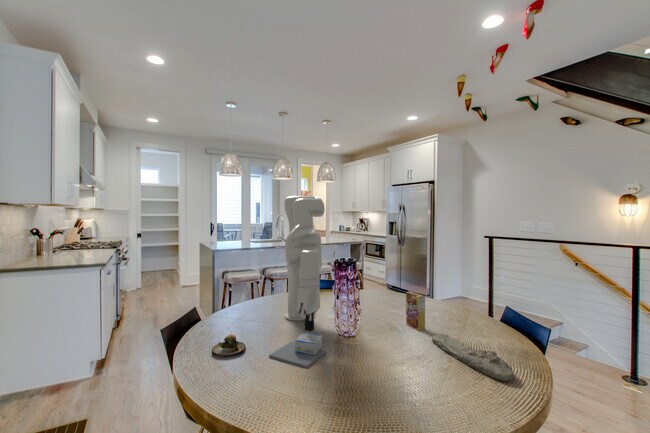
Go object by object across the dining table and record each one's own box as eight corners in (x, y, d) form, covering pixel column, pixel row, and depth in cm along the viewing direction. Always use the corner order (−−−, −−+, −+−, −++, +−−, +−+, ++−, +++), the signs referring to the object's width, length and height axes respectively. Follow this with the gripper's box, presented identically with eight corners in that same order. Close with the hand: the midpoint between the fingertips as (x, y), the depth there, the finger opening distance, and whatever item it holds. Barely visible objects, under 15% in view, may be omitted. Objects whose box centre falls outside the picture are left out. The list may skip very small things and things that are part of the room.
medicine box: (322, 334, 119) (315, 343, 111) (322, 346, 119) (315, 355, 111) (302, 332, 121) (294, 340, 113) (302, 343, 121) (294, 353, 113)
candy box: (405, 324, 146) (405, 291, 146) (412, 323, 148) (412, 290, 148) (417, 330, 138) (418, 296, 138) (425, 329, 140) (425, 295, 140)
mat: (290, 344, 123) (290, 342, 123) (326, 353, 115) (326, 351, 115) (269, 357, 111) (269, 355, 111) (307, 368, 103) (307, 365, 103)
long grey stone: (445, 342, 130) (425, 346, 127) (444, 329, 130) (424, 333, 127) (524, 379, 97) (500, 386, 94) (522, 362, 97) (498, 368, 94)
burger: (204, 356, 112) (205, 335, 112) (226, 343, 123) (226, 324, 123) (232, 361, 108) (233, 340, 108) (252, 348, 119) (252, 328, 119)
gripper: (311, 278, 128) (311, 322, 128) (290, 284, 115) (289, 334, 115) (327, 279, 124) (327, 326, 124) (307, 287, 111) (307, 338, 111)
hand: (309, 330), depth 119 cm, fingers closed
